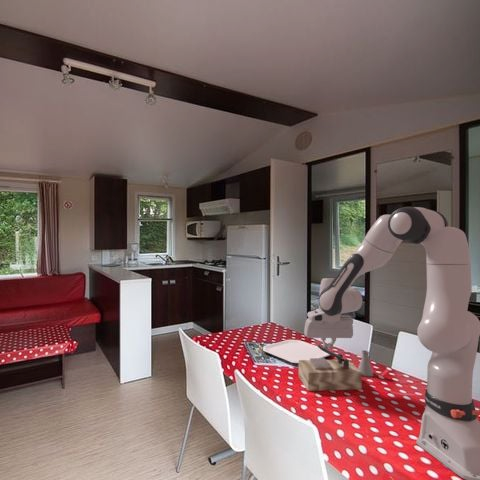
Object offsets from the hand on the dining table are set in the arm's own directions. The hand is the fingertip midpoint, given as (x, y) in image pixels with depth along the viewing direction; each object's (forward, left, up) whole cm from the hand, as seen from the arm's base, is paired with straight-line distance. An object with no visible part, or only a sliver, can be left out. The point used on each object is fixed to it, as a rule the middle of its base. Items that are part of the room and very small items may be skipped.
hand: (328, 347), depth 132 cm
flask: (+8, -21, -15) cm, 26 cm away
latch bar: (0, -1, -3) cm, 3 cm away
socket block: (0, -1, -14) cm, 14 cm away
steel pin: (0, +3, -13) cm, 14 cm away
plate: (+34, +3, -15) cm, 37 cm away
